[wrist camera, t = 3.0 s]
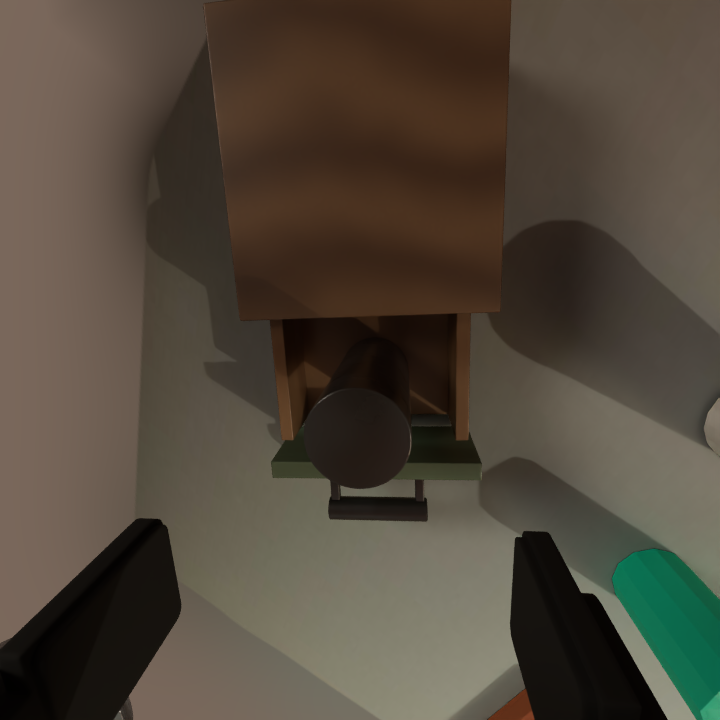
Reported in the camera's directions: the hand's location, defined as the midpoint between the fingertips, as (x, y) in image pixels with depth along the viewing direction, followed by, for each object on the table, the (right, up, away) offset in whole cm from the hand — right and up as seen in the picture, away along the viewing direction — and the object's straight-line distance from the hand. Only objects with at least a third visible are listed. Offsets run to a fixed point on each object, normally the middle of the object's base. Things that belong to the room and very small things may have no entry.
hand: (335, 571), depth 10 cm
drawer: (+2, +4, +20) cm, 20 cm away
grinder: (+2, +5, +18) cm, 19 cm away
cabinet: (+1, +17, +18) cm, 25 cm away
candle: (+25, -13, +23) cm, 36 cm away
